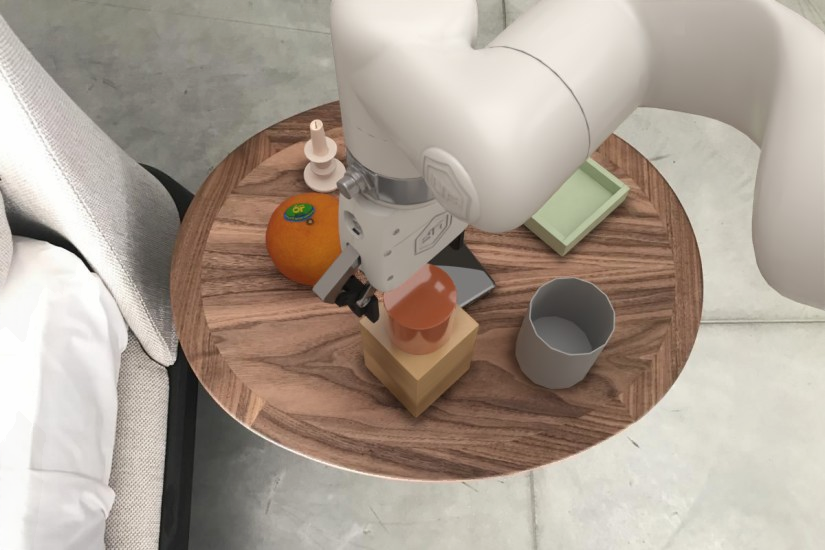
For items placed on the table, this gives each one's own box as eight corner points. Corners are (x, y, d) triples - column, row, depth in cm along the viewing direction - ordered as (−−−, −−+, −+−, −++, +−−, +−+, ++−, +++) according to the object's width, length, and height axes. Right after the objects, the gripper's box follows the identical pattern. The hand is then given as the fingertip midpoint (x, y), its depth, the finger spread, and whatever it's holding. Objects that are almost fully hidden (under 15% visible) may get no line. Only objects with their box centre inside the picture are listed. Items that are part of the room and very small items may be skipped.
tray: (624, 200, 88) (630, 188, 86) (562, 257, 84) (566, 246, 82) (553, 144, 92) (557, 131, 89) (490, 196, 88) (492, 184, 86)
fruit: (379, 267, 83) (376, 231, 76) (301, 312, 81) (291, 280, 74) (331, 202, 87) (325, 163, 80) (256, 244, 85) (242, 207, 78)
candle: (314, 199, 88) (303, 146, 78) (297, 168, 90) (285, 113, 81) (353, 183, 89) (346, 129, 80) (335, 152, 91) (327, 96, 82)
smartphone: (446, 317, 79) (368, 213, 85) (445, 321, 80) (369, 218, 86) (499, 285, 81) (420, 185, 87) (498, 289, 82) (420, 190, 88)
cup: (504, 328, 80) (516, 289, 71) (572, 308, 81) (593, 267, 72) (532, 399, 76) (549, 366, 67) (604, 377, 77) (629, 342, 69)
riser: (469, 368, 78) (479, 324, 67) (416, 418, 75) (417, 380, 65) (418, 319, 80) (420, 269, 70) (365, 365, 78) (358, 321, 67)
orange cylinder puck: (467, 324, 67) (472, 296, 62) (417, 368, 65) (418, 344, 60) (419, 279, 69) (421, 249, 64) (370, 321, 67) (367, 293, 62)
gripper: (342, 269, 41) (360, 371, 57) (540, 106, 47) (508, 239, 62) (260, 191, 44) (299, 309, 59) (457, 45, 50) (446, 187, 65)
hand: (406, 273), depth 61 cm, fingers open, 9 cm apart
